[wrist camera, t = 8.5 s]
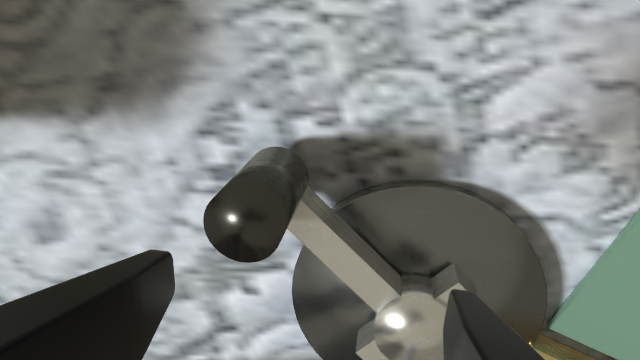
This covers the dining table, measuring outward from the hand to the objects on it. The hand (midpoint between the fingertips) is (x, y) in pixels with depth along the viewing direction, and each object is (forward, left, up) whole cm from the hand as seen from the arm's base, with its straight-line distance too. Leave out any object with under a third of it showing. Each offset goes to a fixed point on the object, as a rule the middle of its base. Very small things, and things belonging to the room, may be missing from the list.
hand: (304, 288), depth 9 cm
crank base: (-6, -6, -12) cm, 15 cm away
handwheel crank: (-5, -2, -11) cm, 12 cm away
